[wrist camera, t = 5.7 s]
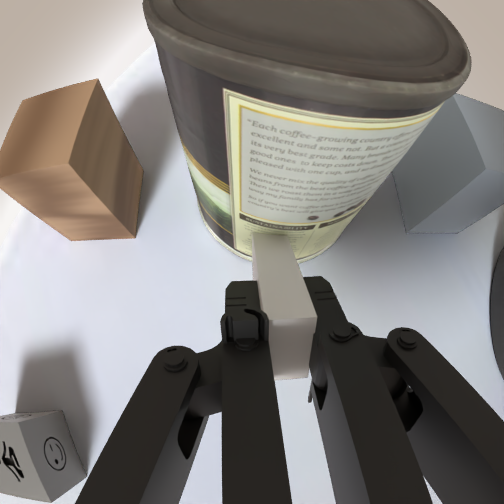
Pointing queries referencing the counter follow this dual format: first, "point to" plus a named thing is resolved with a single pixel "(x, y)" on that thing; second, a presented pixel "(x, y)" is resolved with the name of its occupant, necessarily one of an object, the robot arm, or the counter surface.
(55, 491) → the dice cube
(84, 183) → the walnut block
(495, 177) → the slate-grey block
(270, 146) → the coffee can
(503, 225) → the counter surface
